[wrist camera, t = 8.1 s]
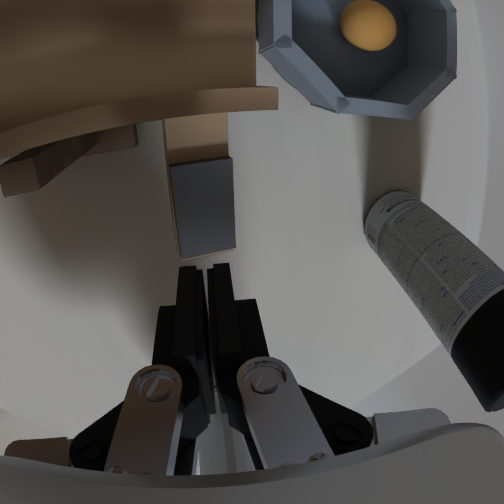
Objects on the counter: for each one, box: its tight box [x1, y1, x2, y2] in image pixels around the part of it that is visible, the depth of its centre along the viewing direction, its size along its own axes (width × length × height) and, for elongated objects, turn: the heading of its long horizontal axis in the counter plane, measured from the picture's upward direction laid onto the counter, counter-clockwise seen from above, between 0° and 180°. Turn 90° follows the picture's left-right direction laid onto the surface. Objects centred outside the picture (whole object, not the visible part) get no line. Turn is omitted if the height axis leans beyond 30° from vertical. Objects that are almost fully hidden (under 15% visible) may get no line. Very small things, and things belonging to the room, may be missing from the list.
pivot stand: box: [0, 124, 138, 197], centre depth 12 cm, size 18×8×10 cm, turn 0°
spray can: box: [364, 190, 504, 412], centre depth 20 cm, size 7×7×20 cm
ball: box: [339, 0, 397, 51], centre depth 16 cm, size 4×4×4 cm
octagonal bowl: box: [256, 0, 457, 122], centre depth 16 cm, size 13×13×6 cm
